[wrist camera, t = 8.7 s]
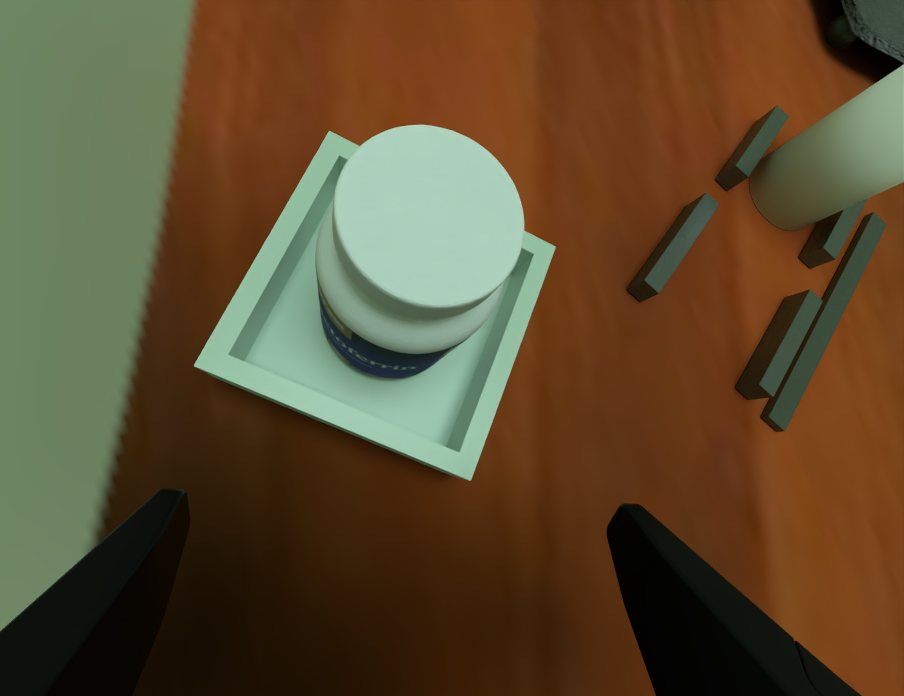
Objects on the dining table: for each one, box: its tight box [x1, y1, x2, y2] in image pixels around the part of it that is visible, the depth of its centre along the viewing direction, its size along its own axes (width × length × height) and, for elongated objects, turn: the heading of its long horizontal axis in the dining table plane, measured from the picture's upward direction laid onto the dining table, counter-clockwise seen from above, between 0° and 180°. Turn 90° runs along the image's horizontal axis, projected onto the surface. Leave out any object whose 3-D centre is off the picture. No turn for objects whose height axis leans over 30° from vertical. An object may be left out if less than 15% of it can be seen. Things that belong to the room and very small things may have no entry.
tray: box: [194, 131, 556, 481], centre depth 19 cm, size 11×11×3 cm
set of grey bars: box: [626, 105, 887, 432], centre depth 27 cm, size 17×11×2 cm, turn 141°
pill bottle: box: [315, 125, 524, 381], centre depth 16 cm, size 6×6×10 cm
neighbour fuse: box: [749, 65, 904, 231], centre depth 24 cm, size 5×5×10 cm
